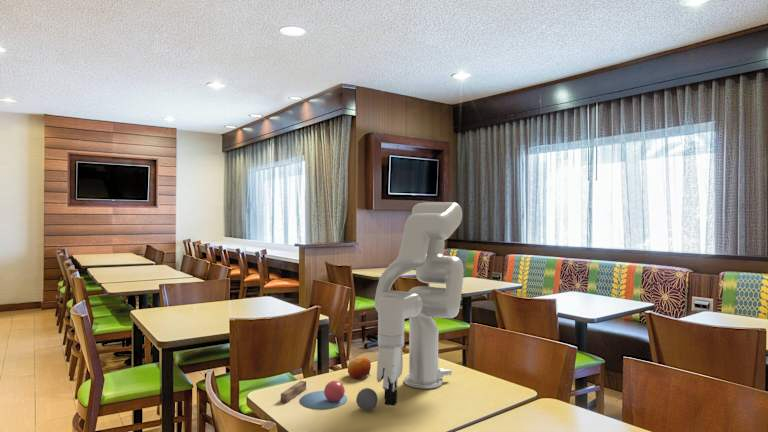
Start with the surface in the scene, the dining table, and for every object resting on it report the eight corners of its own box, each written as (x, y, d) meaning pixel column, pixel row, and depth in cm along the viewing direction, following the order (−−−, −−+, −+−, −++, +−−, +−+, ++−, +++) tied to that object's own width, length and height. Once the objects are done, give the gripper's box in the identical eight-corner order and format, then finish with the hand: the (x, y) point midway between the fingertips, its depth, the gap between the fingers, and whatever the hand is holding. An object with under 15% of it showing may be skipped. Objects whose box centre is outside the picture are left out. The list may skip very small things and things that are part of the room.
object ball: (347, 380, 147) (331, 389, 149) (334, 374, 143) (319, 383, 145) (350, 399, 143) (334, 408, 144) (337, 393, 139) (321, 402, 141)
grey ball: (368, 380, 140) (363, 393, 143) (355, 391, 135) (349, 405, 138) (384, 393, 137) (378, 407, 140) (371, 405, 133) (365, 419, 136)
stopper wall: (300, 388, 154) (300, 380, 154) (306, 389, 154) (306, 381, 154) (280, 402, 143) (280, 393, 143) (286, 403, 142) (286, 394, 142)
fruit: (373, 377, 161) (361, 356, 162) (353, 388, 162) (341, 366, 163) (378, 370, 169) (367, 349, 170) (359, 380, 170) (348, 360, 171)
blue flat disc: (339, 389, 154) (339, 388, 154) (353, 405, 141) (353, 404, 141) (295, 394, 149) (295, 394, 149) (305, 411, 136) (305, 411, 136)
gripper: (387, 332, 147) (386, 393, 147) (369, 344, 132) (369, 412, 132) (411, 334, 144) (410, 396, 144) (395, 347, 130) (395, 416, 130)
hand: (390, 404), depth 138 cm, fingers closed
